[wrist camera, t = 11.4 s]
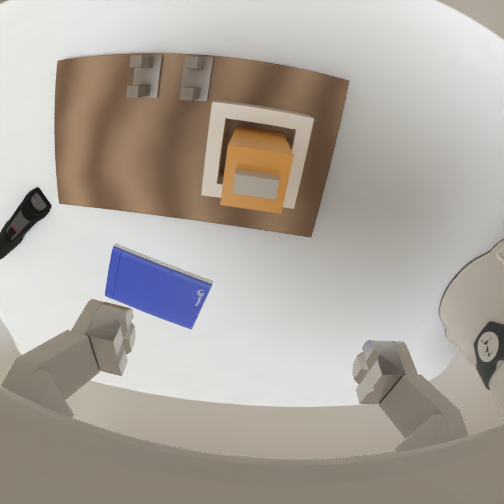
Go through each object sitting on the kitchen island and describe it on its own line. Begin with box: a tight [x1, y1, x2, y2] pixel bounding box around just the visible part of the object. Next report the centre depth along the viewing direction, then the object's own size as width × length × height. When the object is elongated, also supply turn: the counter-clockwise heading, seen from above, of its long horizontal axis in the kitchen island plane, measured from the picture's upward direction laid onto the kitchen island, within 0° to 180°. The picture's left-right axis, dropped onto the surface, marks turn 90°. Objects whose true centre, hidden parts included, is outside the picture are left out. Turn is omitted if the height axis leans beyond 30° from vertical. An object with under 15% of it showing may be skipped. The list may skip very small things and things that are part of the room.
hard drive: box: [105, 244, 213, 329], centre depth 36 cm, size 2×8×12 cm
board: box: [55, 53, 349, 237], centre depth 25 cm, size 28×16×5 cm, turn 81°
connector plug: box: [220, 125, 294, 214], centre depth 22 cm, size 4×4×10 cm
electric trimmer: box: [0, 188, 51, 259], centre depth 31 cm, size 4×16×3 cm, turn 120°
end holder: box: [201, 100, 314, 209], centre depth 25 cm, size 8×8×3 cm
